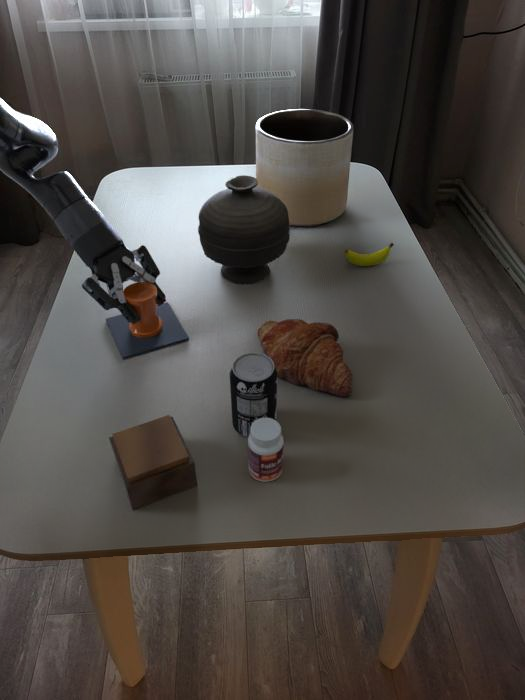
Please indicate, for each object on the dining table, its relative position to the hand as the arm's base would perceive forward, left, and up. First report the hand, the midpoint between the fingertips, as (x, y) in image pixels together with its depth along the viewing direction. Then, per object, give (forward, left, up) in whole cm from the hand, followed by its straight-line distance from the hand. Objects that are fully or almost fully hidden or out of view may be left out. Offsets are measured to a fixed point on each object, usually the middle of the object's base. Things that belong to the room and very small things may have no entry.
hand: (150, 312), depth 97 cm
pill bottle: (+5, -36, -5) cm, 36 cm away
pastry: (+20, -19, -5) cm, 28 cm away
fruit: (+47, +2, -5) cm, 47 cm away
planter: (+47, +31, -5) cm, 57 cm away
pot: (+23, +11, -5) cm, 26 cm away
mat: (-1, +1, -5) cm, 5 cm away
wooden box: (-9, -30, -5) cm, 31 cm away
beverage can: (+7, -28, -5) cm, 29 cm away
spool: (-1, +2, -4) cm, 5 cm away
